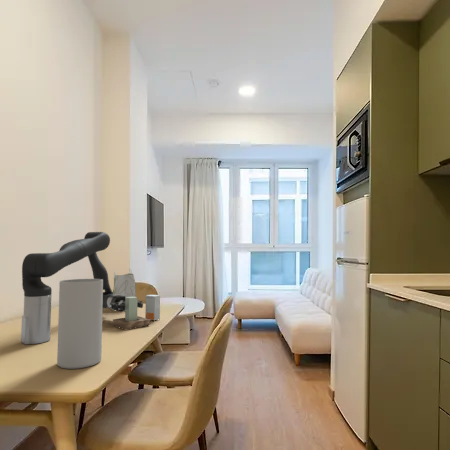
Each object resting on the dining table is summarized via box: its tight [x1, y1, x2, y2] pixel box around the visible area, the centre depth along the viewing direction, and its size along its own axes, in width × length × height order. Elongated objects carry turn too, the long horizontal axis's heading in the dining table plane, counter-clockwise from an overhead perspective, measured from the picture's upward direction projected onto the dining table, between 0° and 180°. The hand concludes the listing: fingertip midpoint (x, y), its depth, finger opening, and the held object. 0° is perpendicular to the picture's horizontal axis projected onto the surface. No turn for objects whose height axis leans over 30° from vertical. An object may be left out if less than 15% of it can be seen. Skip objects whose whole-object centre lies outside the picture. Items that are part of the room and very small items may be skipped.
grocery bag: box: [111, 268, 137, 312], centre depth 213 cm, size 32×14×23 cm, turn 19°
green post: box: [124, 296, 138, 321], centre depth 158 cm, size 4×4×12 cm
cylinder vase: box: [56, 278, 104, 370], centre depth 107 cm, size 12×12×25 cm
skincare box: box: [144, 294, 161, 321], centre depth 171 cm, size 6×4×12 cm
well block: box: [112, 315, 151, 330], centre depth 158 cm, size 12×12×3 cm
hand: (133, 306), depth 157 cm, fingers open, 8 cm apart
